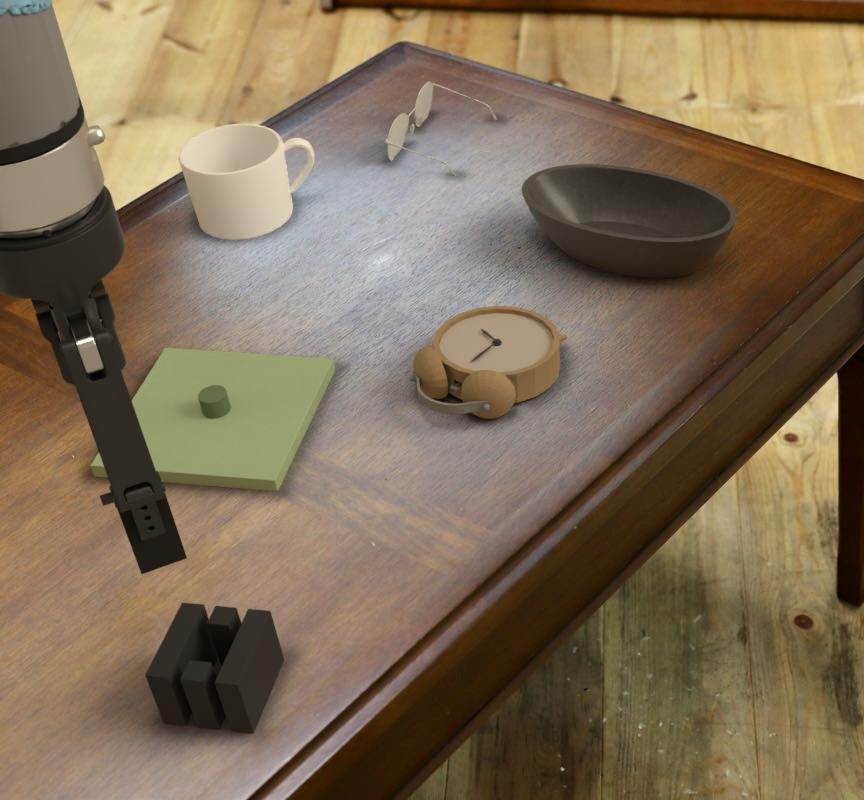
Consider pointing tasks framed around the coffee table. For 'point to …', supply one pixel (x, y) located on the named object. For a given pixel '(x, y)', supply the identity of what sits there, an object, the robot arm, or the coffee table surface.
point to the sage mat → (227, 415)
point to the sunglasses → (420, 114)
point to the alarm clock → (488, 361)
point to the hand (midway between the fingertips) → (138, 492)
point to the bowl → (629, 218)
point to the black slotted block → (195, 659)
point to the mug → (241, 179)
